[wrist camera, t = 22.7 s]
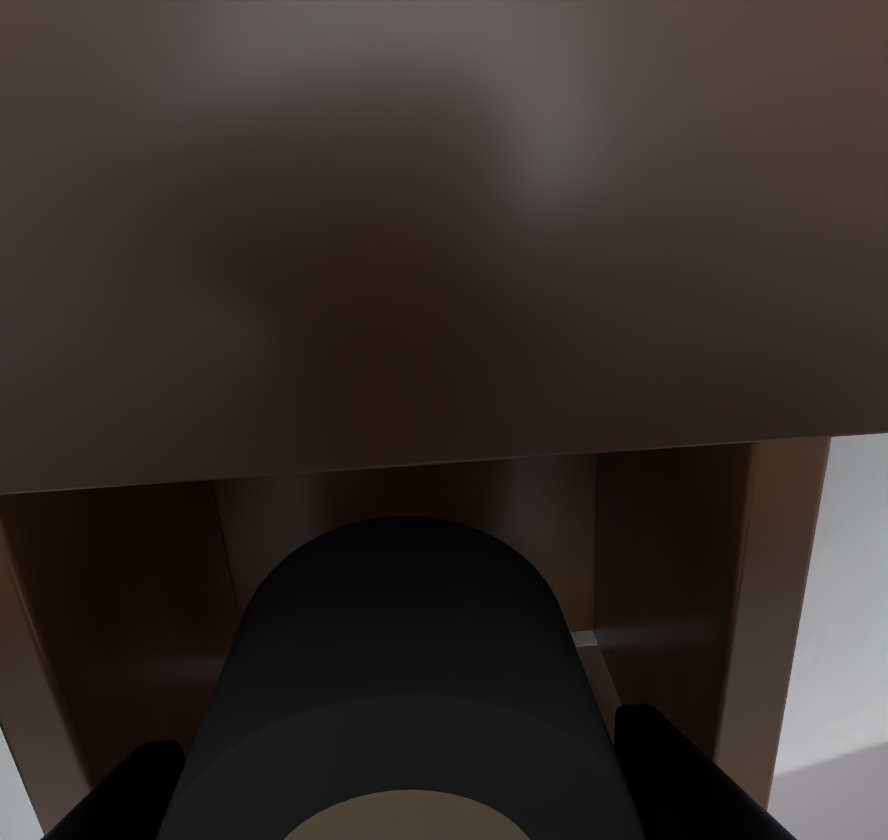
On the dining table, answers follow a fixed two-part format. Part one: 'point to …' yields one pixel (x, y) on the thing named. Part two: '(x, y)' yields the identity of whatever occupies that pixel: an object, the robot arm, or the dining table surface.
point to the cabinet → (434, 232)
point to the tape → (403, 702)
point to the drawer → (410, 494)
